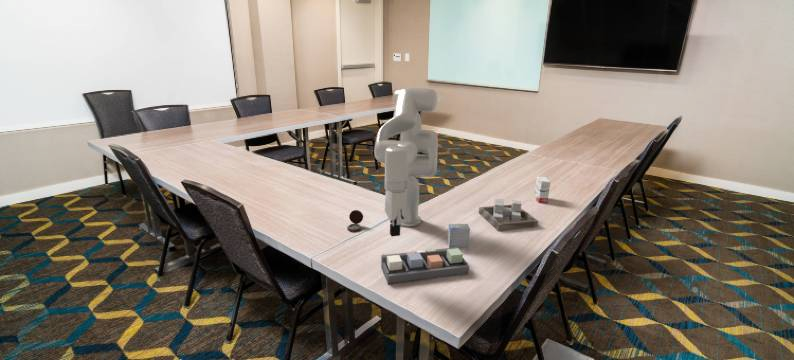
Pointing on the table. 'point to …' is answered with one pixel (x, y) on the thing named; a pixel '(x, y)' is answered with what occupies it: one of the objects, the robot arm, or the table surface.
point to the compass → (355, 221)
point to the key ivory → (394, 262)
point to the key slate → (415, 260)
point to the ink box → (542, 189)
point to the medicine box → (458, 235)
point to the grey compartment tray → (423, 272)
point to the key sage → (454, 255)
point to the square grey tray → (528, 222)
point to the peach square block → (434, 261)
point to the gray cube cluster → (507, 211)
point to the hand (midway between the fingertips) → (394, 234)
